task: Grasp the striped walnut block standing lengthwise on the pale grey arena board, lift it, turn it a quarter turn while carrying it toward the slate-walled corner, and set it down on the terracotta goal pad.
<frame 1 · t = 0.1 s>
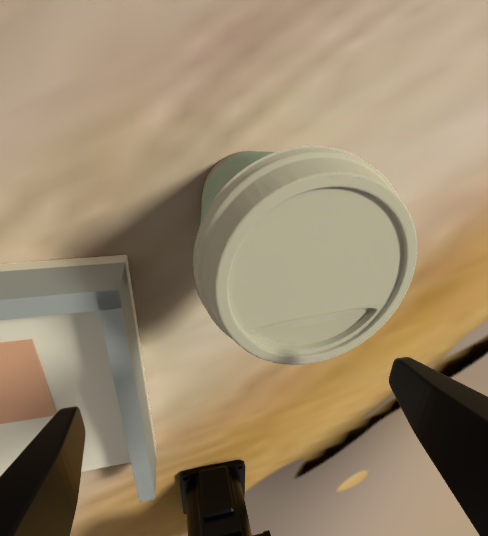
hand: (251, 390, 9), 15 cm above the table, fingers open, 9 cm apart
coffee cup: (245, 196, 22), on the table
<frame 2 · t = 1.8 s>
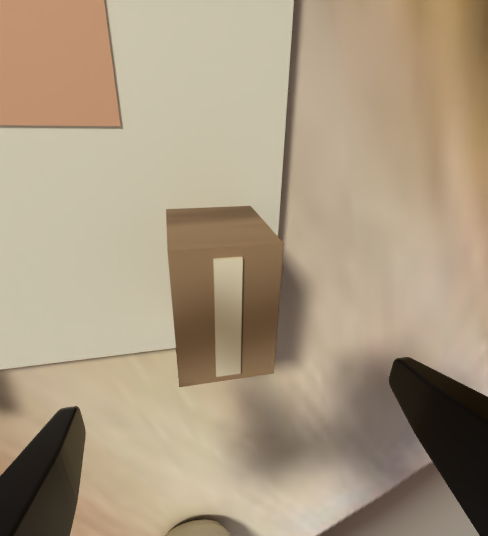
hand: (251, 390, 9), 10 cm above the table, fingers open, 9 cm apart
arena: (61, 124, 14), on the table
walnut block: (210, 264, 17), point 1 cm above the table, touching arena
plastic bottle: (193, 527, 29), on the table
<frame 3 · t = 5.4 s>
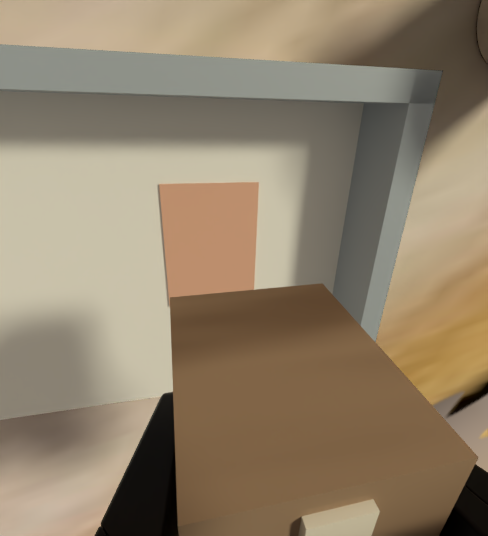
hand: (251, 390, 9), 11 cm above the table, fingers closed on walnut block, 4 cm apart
arena: (166, 258, 19), on the table
walnut block: (246, 378, 10), point 11 cm above the table, touching gripper
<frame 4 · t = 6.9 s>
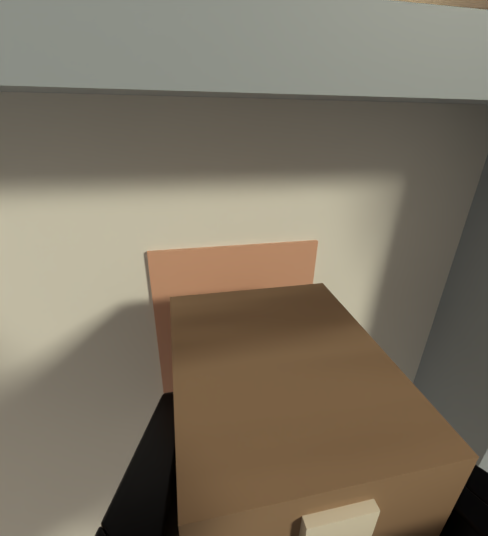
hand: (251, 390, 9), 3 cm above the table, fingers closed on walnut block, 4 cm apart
arena: (161, 351, 12), on the table
walnut block: (247, 378, 10), point 3 cm above the table, touching gripper
when the fingers open (3 cm above the table, at t = 7.6 s): walnut block drops 1 cm, resting on arena.
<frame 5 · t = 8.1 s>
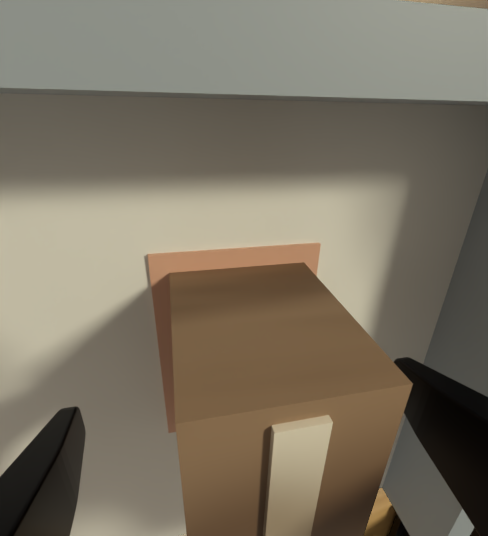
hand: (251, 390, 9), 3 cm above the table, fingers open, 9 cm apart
arena: (162, 354, 12), on the table
walnut block: (238, 348, 11), point 1 cm above the table, touching arena
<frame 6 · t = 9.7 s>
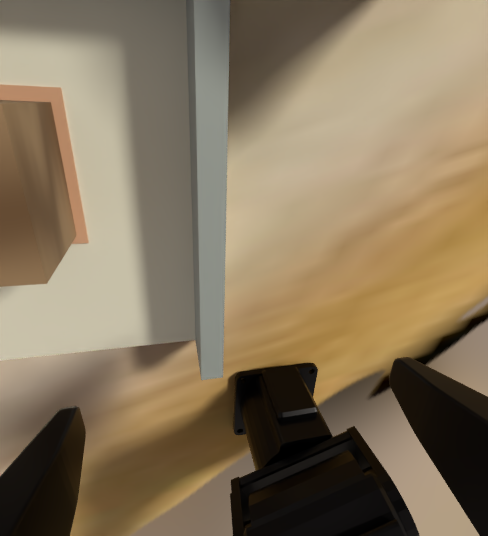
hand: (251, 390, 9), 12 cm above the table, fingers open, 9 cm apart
walnut block: (16, 174, 15), point 1 cm above the table, touching arena
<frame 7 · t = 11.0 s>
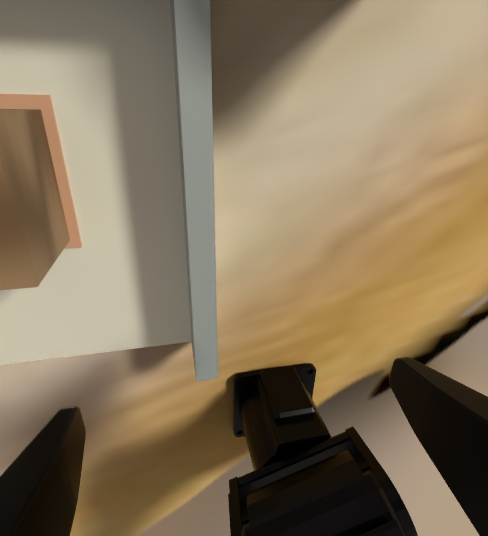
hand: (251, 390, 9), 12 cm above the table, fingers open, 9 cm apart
walnut block: (9, 181, 15), point 1 cm above the table, touching arena
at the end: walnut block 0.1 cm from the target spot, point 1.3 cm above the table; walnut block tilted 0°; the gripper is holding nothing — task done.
